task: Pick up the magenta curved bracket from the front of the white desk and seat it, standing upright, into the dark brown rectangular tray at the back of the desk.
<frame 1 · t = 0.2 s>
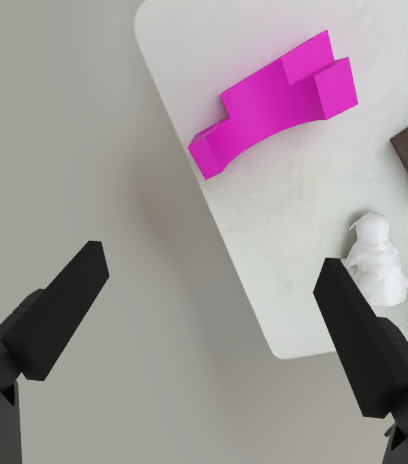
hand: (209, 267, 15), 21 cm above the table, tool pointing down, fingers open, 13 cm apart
white lumpy piece: (361, 240, 36), on the table
magenta curved bracket: (254, 107, 28), on the table
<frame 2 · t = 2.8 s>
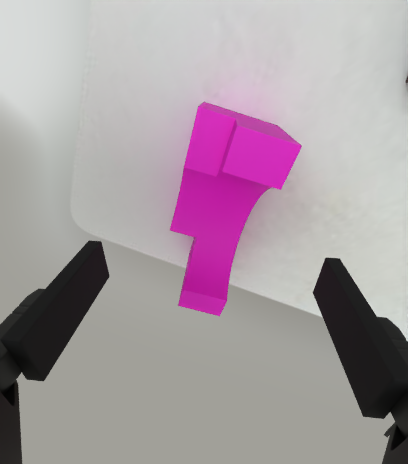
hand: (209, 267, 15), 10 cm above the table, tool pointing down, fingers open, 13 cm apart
magenta curved bracket: (214, 195, 24), on the table
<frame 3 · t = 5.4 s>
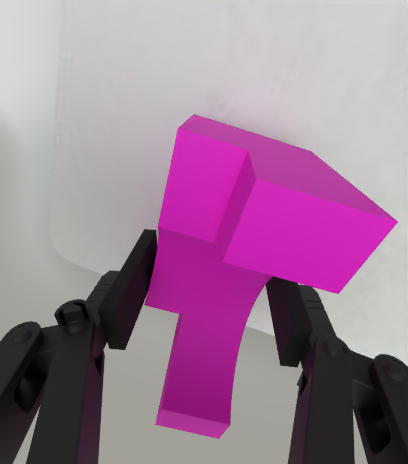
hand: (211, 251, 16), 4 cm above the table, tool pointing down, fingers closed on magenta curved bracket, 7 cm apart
magenta curved bracket: (211, 246, 16), point 3 cm above the table, touching gripper
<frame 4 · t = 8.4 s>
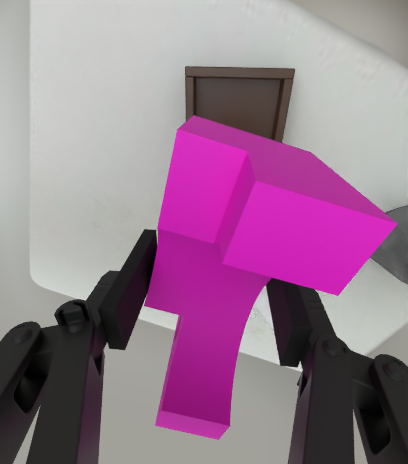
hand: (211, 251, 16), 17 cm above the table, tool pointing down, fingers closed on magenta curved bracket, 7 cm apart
white lumpy piece: (263, 276, 38), on the table
dark brown rectangular tray: (231, 161, 29), on the table
magenta curved bracket: (211, 247, 16), point 16 cm above the table, touching gripper
coffeepot: (395, 229, 32), on the table
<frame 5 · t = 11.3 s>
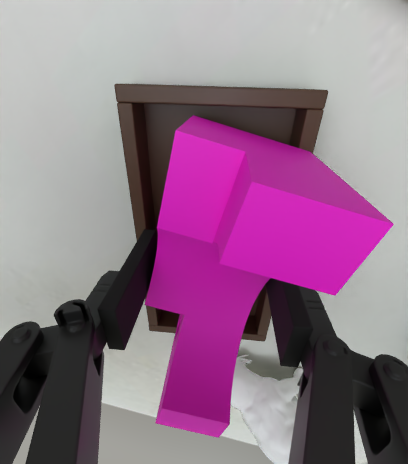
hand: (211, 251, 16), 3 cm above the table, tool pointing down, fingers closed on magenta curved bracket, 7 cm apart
white lumpy piece: (262, 367, 28), on the table
dark brown rectangular tray: (212, 229, 18), on the table
magenta curved bracket: (211, 246, 16), point 2 cm above the table, touching gripper, dark brown rectangular tray
when the fingers open (3 cm above the table, at t = 11.8 s): magenta curved bracket stays where it is, resting on dark brown rectangular tray.
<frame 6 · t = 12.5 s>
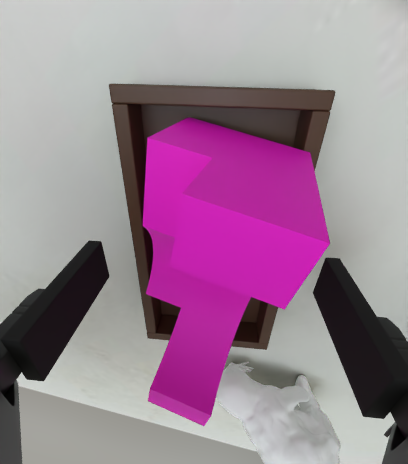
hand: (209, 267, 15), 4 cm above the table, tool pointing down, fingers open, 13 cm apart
white lumpy piece: (264, 374, 27), on the table
dark brown rectangular tray: (212, 234, 18), on the table
magenta curved bracket: (214, 244, 17), point 1 cm above the table, touching dark brown rectangular tray
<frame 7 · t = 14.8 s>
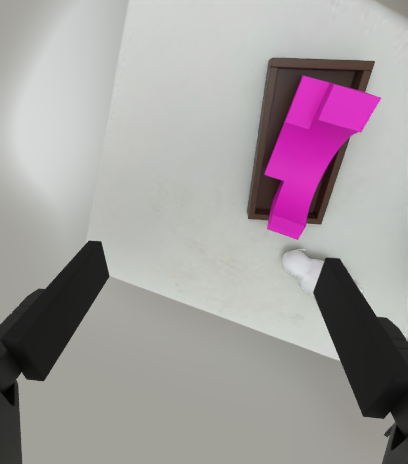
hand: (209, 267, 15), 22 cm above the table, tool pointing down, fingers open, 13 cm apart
white lumpy piece: (309, 262, 40), on the table
dark brown rectangular tray: (295, 149, 31), on the table
magenta curved bracket: (299, 151, 30), point 1 cm above the table, touching dark brown rectangular tray
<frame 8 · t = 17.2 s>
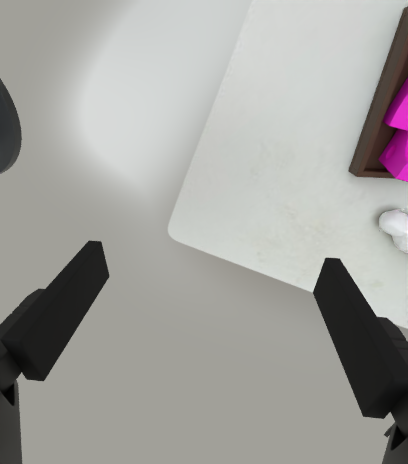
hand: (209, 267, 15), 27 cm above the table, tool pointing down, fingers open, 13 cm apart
white lumpy piece: (401, 224, 41), on the table
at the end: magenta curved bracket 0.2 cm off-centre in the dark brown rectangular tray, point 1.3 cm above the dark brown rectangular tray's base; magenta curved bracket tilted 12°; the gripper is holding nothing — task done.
